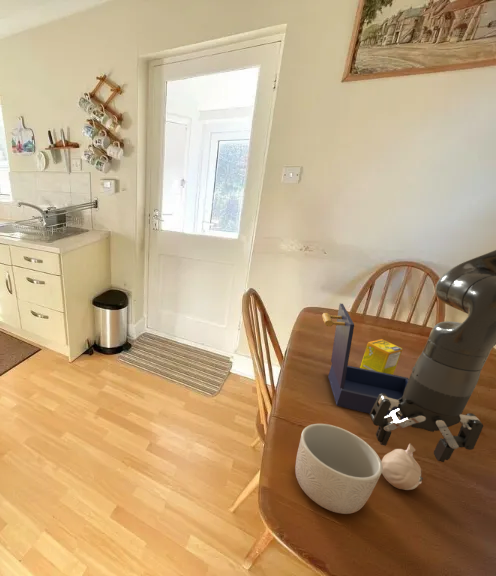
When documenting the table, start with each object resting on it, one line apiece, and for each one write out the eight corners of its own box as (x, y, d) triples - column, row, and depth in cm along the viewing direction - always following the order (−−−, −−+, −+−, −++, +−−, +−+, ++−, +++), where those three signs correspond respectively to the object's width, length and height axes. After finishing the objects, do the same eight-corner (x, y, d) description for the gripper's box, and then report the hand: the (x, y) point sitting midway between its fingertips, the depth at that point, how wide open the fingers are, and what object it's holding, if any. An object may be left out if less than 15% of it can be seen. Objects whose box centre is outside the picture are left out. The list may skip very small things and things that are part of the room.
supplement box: (370, 368, 98) (381, 338, 94) (391, 380, 93) (403, 348, 89) (357, 372, 96) (367, 341, 93) (377, 384, 91) (389, 352, 87)
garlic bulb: (425, 494, 61) (441, 464, 58) (397, 499, 60) (412, 469, 57) (392, 464, 67) (404, 436, 64) (366, 468, 66) (377, 440, 63)
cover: (342, 303, 86) (320, 302, 89) (354, 324, 75) (328, 322, 77) (334, 361, 92) (313, 358, 94) (343, 389, 81) (320, 385, 83)
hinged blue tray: (401, 393, 88) (408, 377, 86) (422, 427, 76) (429, 410, 74) (327, 377, 95) (332, 362, 93) (336, 406, 83) (341, 390, 81)
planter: (287, 454, 69) (297, 416, 65) (354, 474, 65) (369, 434, 61) (294, 507, 59) (306, 465, 55) (374, 534, 54) (395, 490, 50)
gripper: (396, 382, 54) (369, 452, 60) (513, 407, 48) (470, 481, 54) (383, 359, 60) (359, 424, 66) (484, 379, 55) (448, 448, 60)
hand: (409, 450), depth 60 cm, fingers open, 8 cm apart
